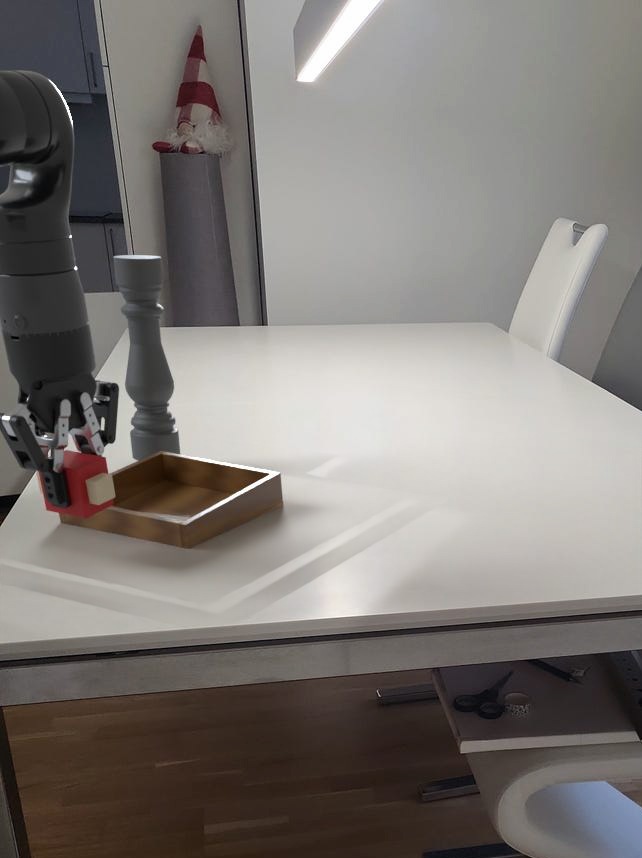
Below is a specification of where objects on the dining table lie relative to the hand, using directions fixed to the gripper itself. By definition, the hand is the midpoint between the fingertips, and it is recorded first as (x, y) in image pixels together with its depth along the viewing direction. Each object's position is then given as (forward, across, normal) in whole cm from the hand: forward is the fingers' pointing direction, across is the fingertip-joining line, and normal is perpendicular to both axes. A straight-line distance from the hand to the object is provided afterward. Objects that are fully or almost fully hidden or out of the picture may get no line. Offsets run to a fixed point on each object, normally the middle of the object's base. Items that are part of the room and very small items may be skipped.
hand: (78, 497), depth 103 cm
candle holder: (+9, -32, -18) cm, 38 cm away
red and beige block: (+1, 0, 0) cm, 1 cm away
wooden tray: (+9, -16, -2) cm, 18 cm away
